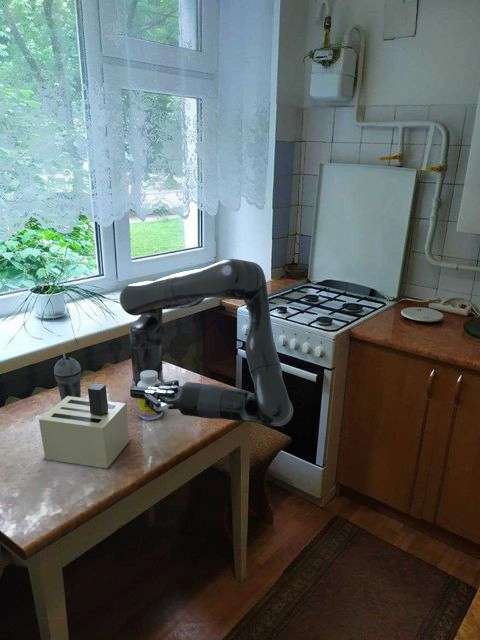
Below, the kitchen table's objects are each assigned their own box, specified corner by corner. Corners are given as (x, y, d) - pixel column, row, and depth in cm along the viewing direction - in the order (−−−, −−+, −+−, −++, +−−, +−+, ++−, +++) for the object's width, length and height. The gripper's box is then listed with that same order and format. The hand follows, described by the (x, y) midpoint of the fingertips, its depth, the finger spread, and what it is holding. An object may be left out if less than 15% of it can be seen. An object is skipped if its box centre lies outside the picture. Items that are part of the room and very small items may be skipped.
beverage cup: (90, 403, 144) (82, 339, 137) (79, 415, 138) (70, 349, 130) (66, 401, 145) (57, 337, 137) (53, 413, 138) (44, 347, 131)
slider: (96, 408, 119) (94, 383, 116) (108, 410, 119) (105, 384, 116) (90, 414, 116) (87, 388, 114) (102, 416, 116) (99, 390, 113)
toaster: (72, 433, 129) (67, 395, 125) (129, 441, 126) (126, 402, 122) (44, 459, 118) (38, 418, 114) (107, 468, 116) (102, 427, 111)
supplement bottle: (142, 422, 135) (139, 380, 130) (136, 411, 140) (133, 370, 136) (166, 417, 138) (164, 376, 133) (159, 407, 143) (157, 366, 139)
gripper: (212, 373, 115) (142, 365, 118) (194, 399, 103) (117, 389, 106) (212, 402, 118) (144, 393, 121) (195, 430, 106) (119, 420, 109)
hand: (131, 392), depth 114 cm, fingers closed
